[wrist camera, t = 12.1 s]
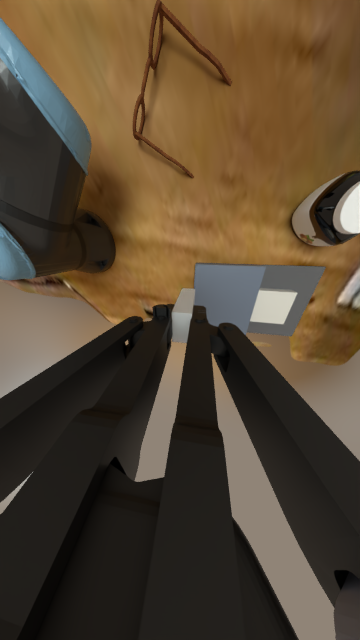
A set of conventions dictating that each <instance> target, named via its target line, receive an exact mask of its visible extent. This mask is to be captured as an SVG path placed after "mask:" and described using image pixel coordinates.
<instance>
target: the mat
mask: <svg viewBox="0 0 360 640" xmlns="http://www.w3.org/2000/svg"><path fill="white" fill-rule="evenodd" d="M262 266H266V269H265V272H264V275H263V279H262V282H261V285H260V288H267V289H284V290H293V291H295V292H297V295H296V297H295V300H294V302H293V304H292V306H291V309H290V311H289V313H288V315H287V318H286V320H285V322H284V324H275V323H263V322H252V321H250V322H249V326H248V329H247V332H249V333H261V334H272V335H283V336H292V335H293V332H294V330H295V328H296V326H297V324H298V322H299V320H300V318H301V316H302V314H303V312H304V310H305V308H306V306H307V304H308V302H309V300H310V298H311V296H312V294H313V292H314V290H315V288H316V286H317V284H318V282H319V280H320V278H321V276H322V274H323V272H324V270H325V268H326V267H317V266H285V265H262Z"/></svg>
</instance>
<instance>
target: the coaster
mask: <svg viewBox="0 0 360 640" xmlns="http://www.w3.org/2000/svg"><path fill="white" fill-rule="evenodd" d="M296 295H297V292H295V291H293V290H284V289H267V288H260V289H259V292H258V295H257V299H256V302H255V306H254V309H253V312H252V316H251V319H250V321H252V322H263V323H275V324H284V322H285V320H286V318H287V315H288V313H289V311H290V309H291V306H292V304H293V302H294V300H295V297H296Z"/></svg>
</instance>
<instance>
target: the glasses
mask: <svg viewBox="0 0 360 640" xmlns="http://www.w3.org/2000/svg"><path fill="white" fill-rule="evenodd" d="M158 13H159V16H160V26H159V38H158V44H157V50H156V54H155V58H154V60H153V56H152V49H153V37H154V30H155V25H156V20H157V16H158ZM163 16H164V17H165V18H166V19H167V20H168V21H169V22H170V23H171V24H172V25H173V26H174V27H175V28H176V29H177V30H178V31H179V32H180V33H181V34H182V36H183V37H184V38H185V39H186V40H187V41H188V42H189V43H190V44H191V45H192V46H193V47H194V48H195V49H196V50H197V51H198V52H199V53H200V54H201V55H203V56H204V57H206V58H207V59H208V60H209V61H210V62H211V63H212V64H213V65H214V66H215V67H216V68H217V69H218V71H219V72H220V74H221V75H222V77H223V79H224V80H225V82H226V83H227V84H229V85H230V86H231V83H232V81H231V79H230V78H229V76H228V74H227V73H226V71H225V70H224V68H223V66H222V65H221V63H220V62H219V61H218V60H217V58H216V57H215V56H214V55H213V54H212V53H211V52H210V51H209V50H207V49H206V48H205V47H204V46H202V45H201V44H200V43H199V42H198V41H197V40H196V39H195V38H194V37H193V35H192V34H191V33H190V32H189V31H188V30H187V29H186V28H185V27H184V26H183V25H182V24H181V23H180V22H179V20H178V19H177V18H176V17H175V16H174V15H173V14H172V13H171V12H170V11H169V10H168V9H167V8H166V7H165V5H164V4H163V3H162V2H161V1H160V0H157V2H156V5H155V8H154V12H153V17H152V23H151V30H150V39H149V57H148V59H147V63H146V67H145V72H144V77H143V82H142V89H141V94H140V95H139V97H138V99H137V102H136V105H135V110H134V117H133V135H134V138H135V139H136V140H139V138H140V139H141V140H143V141H144V142H145V143H147V144H148V145H149V146H151V147H152V148H153V149H155V150H156V151H157V152H159V153H160V154H161V155H163V156H164V157H165V158H167V159H168V160H170V161H172V162H173V163H175V164H176V165H178V166H179V167H181V168H182V169H183V170H184V171H185V172H186V173H187V174H188V175H190V176H191V177H192V178H194V176H193V175H192V174H191V173H190V172H189V171H188V170H187V169H186V168H185V167H184V166H182V165H181V164H180V163H179V162H177V161H176V160H175V159H173V158H172V157H170V156H169V155H167V154H166V153H164V152H163V151H162V150H160V149H159V148H158V147H156V146H155V145H154V144H152V143H151V142H150V141H149V140H147V139H146V138H145V137H143V136H142V135H141V133H142V128H143V124H144V117H145V104H144V92H145V87H146V82H147V77H148V72H149V68H150V66H151V68H152V69H153V70H154V69H155V67H156V65H157V61H158V56H159V52H160V47H161V41H162V33H163ZM140 104H141V106H142V117H141V124H140V128H139V132H137V131H136V119H137V113H138V109H139V106H140Z"/></svg>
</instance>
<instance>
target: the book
mask: <svg viewBox="0 0 360 640" xmlns="http://www.w3.org/2000/svg"><path fill="white" fill-rule="evenodd" d="M265 269H266V266H262V265H254V264H222V263H196V265H195V280H194V289H195V300H194V305H198V306H204V307H205V308H206V314H207V319H208V323H209V324H211V325H213V326H217V327H218V326H219V324H220V323H224V322H225V323H227V322H228V323H232V324H234V325H236V326H237V327H238V328H239V329H240V330H241V331H242V332H243V333H244V334H245V335H246V332H247V329H248V326H249V322H250V319H251V316H252V312H253V309H254V306H255V302H256V299H257V295H258V292H259V289H260V285H261V282H262V279H263V275H264V272H265Z"/></svg>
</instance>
